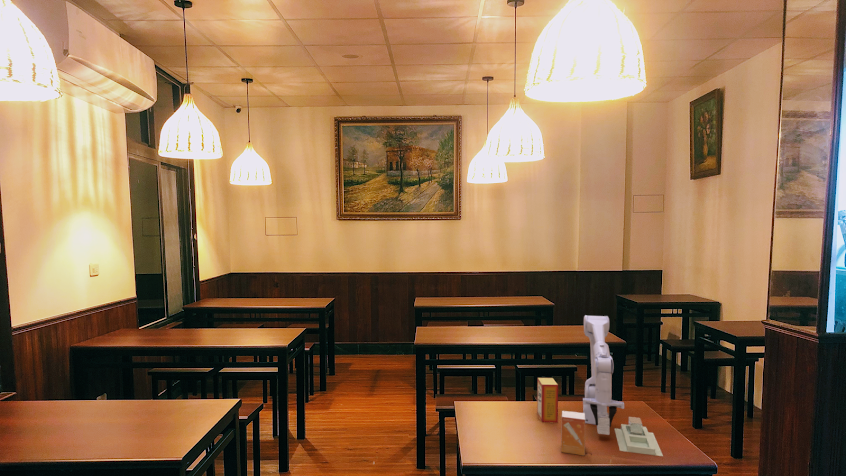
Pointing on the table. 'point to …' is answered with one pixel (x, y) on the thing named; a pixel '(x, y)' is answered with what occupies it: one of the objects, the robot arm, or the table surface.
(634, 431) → the block
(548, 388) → the baking soda box
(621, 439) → the cream stepped base
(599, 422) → the block
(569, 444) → the small box
